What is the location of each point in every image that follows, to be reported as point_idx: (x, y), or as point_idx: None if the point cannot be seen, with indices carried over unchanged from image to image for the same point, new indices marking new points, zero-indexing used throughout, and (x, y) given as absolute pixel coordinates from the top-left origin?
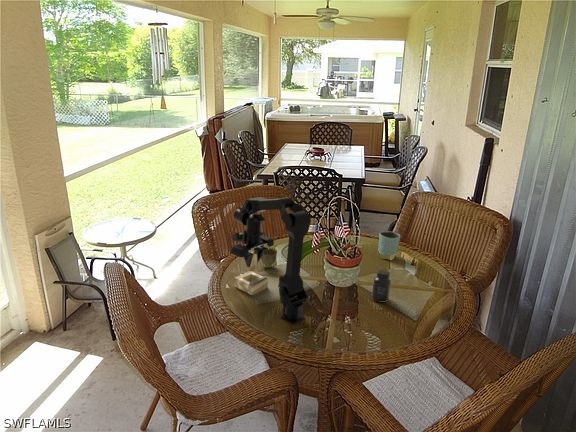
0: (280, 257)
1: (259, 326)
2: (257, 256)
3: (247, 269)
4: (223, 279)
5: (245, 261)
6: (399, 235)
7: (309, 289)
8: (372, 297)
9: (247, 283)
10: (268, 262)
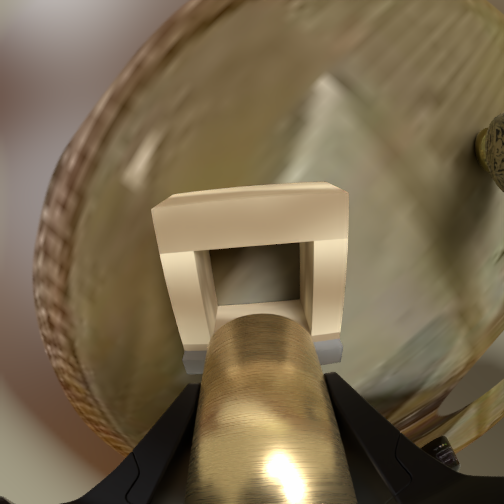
0: None
1: (127, 430)
2: (351, 473)
3: (207, 350)
4: (174, 72)
5: (149, 436)
6: None
7: (410, 392)
8: (424, 450)
9: (183, 334)
10: (500, 182)
